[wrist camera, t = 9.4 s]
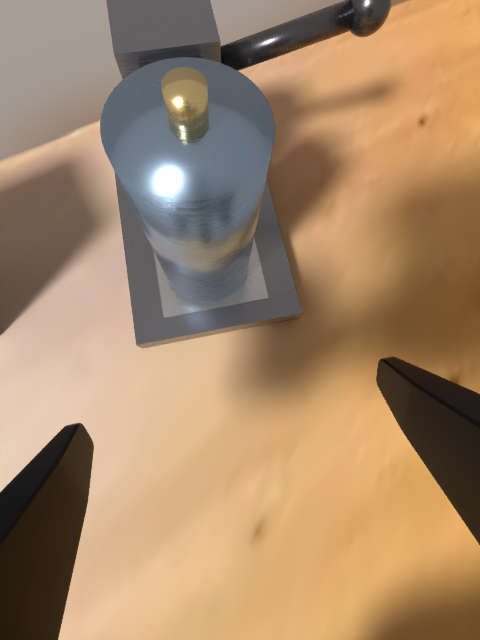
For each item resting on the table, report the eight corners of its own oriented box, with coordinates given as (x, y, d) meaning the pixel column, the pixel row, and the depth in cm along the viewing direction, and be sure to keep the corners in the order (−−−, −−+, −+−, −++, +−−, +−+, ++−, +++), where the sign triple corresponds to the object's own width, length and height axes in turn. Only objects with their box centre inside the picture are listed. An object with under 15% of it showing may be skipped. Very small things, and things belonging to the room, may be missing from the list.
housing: (262, 247, 19) (313, 60, 8) (223, 317, 18) (224, 205, 7) (190, 211, 20) (150, -15, 9) (147, 277, 18) (39, 112, 8)
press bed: (364, 305, 20) (507, 206, 10) (142, 348, 19) (33, 290, 9) (316, 154, 23) (387, -49, 12) (121, 184, 22) (19, -9, 11)
